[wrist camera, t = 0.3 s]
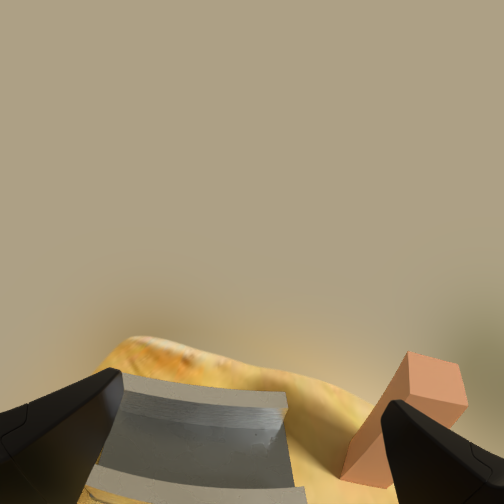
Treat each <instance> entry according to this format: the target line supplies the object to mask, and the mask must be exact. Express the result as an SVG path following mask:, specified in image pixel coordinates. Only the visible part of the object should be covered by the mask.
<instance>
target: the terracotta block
mask: <svg viewBox="0 0 504 504" xmlns="http://www.w3.org/2000/svg"><path fill="white" fill-rule="evenodd" d="M397 399H401V400H403V401H405V402H406V403H408V404H409V405H411V406H412V407H414V408H416V409H417V410H419V411H420V412H422V413H424V414H425V415H427V416H428V417H430V418H432V419H433V420H435V421H436V422H438V423H440V424H441V425H443V426H445V427H446V428H448V429H450V428H451V427H452V425H453V424H454V423H455V422H456V421H457V420H458V418H459V417H460V416H461V415H462V414H463V412H464V411H465V410H466V409H467V407H468V402H467V397H466V393H465V389H464V385H463V381H462V377H461V373H460V370H459V366H458V364H455V363H451V362H447V361H443V360H439V359H435V358H432V357H427V356H424V355H420V354H417V353H413V352H409V351H407V353H406V355H405V357H404V359H403V361H402V362H401V364H400V366H399V368H398V370H397V371H396V373H395V375H394V377H393V378H392V380H391V382H390V384H389V385H388V387H387V388H386V390H385V392H384V393H383V395H382V396H381V398H380V400H379V401H378V403H377V404H376V406H375V407H374V409H373V410H372V412H371V413H370V415H369V416H368V418H367V419H366V421H365V422H364V423H363V425H362V426H361V428H360V429H359V430H358V432H357V433H356V434H355V436H354V437H353V438H352V440H351V441H350V444H349V448H348V451H347V455H346V459H345V462H344V466H343V469H342V472H341V476H340V480H344V481H348V482H353V483H357V484H362V485H367V486H372V487H378V488H384V489H387V488H388V487H389V486H390V485H392V484H393V483H394V482H393V478H392V475H391V471H390V467H389V464H388V460H387V456H386V451H385V445H384V439H383V434H382V428H381V423H380V420H381V416H382V414H383V412H384V410H385V409H386V407H387V405H388V403H389V402H390V401H391V400H397Z"/></svg>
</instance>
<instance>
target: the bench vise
mask: <svg viewBox="0 0 504 504" xmlns="http://www.w3.org/2000/svg"><path fill="white" fill-rule="evenodd" d="M122 376H123V385H124V394H123V397H122V400H121V403H120V406H119V409H118V411H117V414H116V417H115V420H114V423H113V426H112V429H111V431H110V433H109V436H108V438H107V440H106V442H105V444H104V448H103V451H102V454H101V457H100V461H99V464H98V465H96V464H95V465H94V467H93V469H92V471H91V473H90V475H89V478H88V480H87V482H86V484H85V486H84V487H85V488H86V489H87V490H88V491H89V492H90V497H91V498H92V499H93V500H95V501H98V502H101V503H105V504H307V500H306V494H305V489H304V486H303V487H295V486H294V480H293V474H292V468H291V462H290V457H289V451H288V445H287V440H286V434H285V428H284V422H283V420H284V418H285V415H286V413H287V410H288V403H287V398H286V393H285V392H270V391H249V390H235V389H223V388H213V387H204V386H196V385H188V384H181V383H175V382H168V381H162V380H157V379H151V378H146V377H141V376H136V375H131V374H127V373H122Z"/></svg>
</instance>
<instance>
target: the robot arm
mask: <svg viewBox="0 0 504 504" xmlns="http://www.w3.org/2000/svg"><path fill="white" fill-rule="evenodd" d="M123 394H124V385H123V376H122V372H121V371H120V370H118V369H114V368H111V367H109V368H107V369H104V370H102V371H100V372H98V373H96V374H94V375H91V376H89V377H87V378H85V379H83V380H80V381H78V382H76V383H74V384H71V385H69V386H67V387H65V388H62V389H60V390H58V391H55V392H53V393H51V394H48V395H46V396H44V397H41V398H39V399H36V400H34V401H32V402H29V404H27V403H26V404H24V405H21V406H19V407H16V408H14V409H11V410H8V411H5V412H2V413H0V504H77V502H78V500H79V497H80V495H81V493H82V491H83V489H84V486H85V484H86V482H87V480H88V478H89V475H90V473H91V471H92V469H93V467H94V465H95V463H96V460H97V458H98V456H99V454H100V452H101V450H102V448H103V446H104V444H105V442H106V440H107V438H108V436H109V433H110V431H111V429H112V426H113V423H114V420H115V417H116V414H117V411H118V409H119V406H120V403H121V400H122V397H123ZM380 423H381V428H382V434H383V439H384V445H385V451H386V456H387V460H388V464H389V467H390V471H391V475H392V478H393V482H394V486H395V490H396V494H397V498H398V502H399V504H504V459H503V458H501V457H499V456H497V455H494V454H492V453H490V452H488V451H486V450H484V449H482V448H480V447H479V446H477V445H475V444H473V443H472V442H469V441H468V440H466V439H465V438H463V437H461V436H460V435H458V434H456V433H455V432H453V431H451V430H450V429H448V428H446V427H445V426H443V425H441V424H440V423H438V422H436V421H435V420H433V419H432V418H430V417H428V416H427V415H425V414H424V413H422V412H420V411H419V410H417V409H416V408H414V407H412V406H411V405H409V404H408V403H406V402H405V401H403V400H401V399H397V400H391V401H390V402H389V403H388V405H387V407H386V409H385V410H384V412H383V414H382V416H381V420H380Z"/></svg>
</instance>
